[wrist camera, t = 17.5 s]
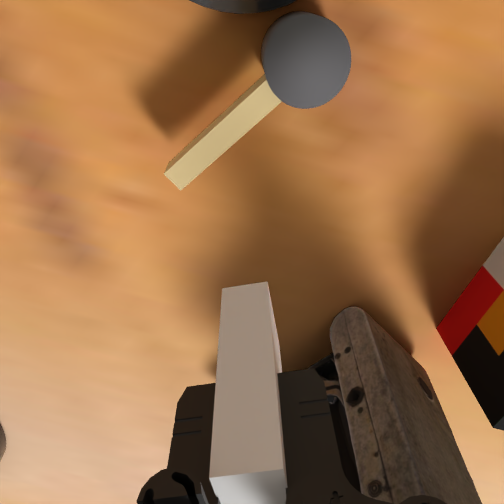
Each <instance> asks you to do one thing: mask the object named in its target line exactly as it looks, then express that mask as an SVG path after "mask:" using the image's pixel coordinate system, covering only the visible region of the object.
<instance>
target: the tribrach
mask: <svg viewBox="0 0 504 504" xmlns="http://www.w3.org/2000/svg"><path fill="white" fill-rule="evenodd" d="M190 1H192V2H195V3H197V4H199V5H201V6H204V7H207V8H210V9H214V10H218V11H221V12H229V13H237V14H243V13H259V12H265V11H271V10H274V9H277V8H280V7H283V6H286V5H288V4H291V3H293V2H295V1H297V0H190Z"/></svg>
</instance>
